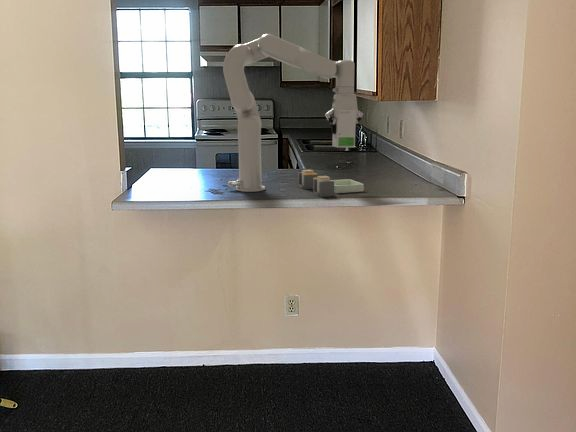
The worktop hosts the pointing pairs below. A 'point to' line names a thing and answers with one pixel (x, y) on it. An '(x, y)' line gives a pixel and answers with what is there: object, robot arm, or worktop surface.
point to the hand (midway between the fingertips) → (343, 133)
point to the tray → (347, 186)
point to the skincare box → (345, 129)
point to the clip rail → (311, 183)
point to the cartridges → (319, 178)
